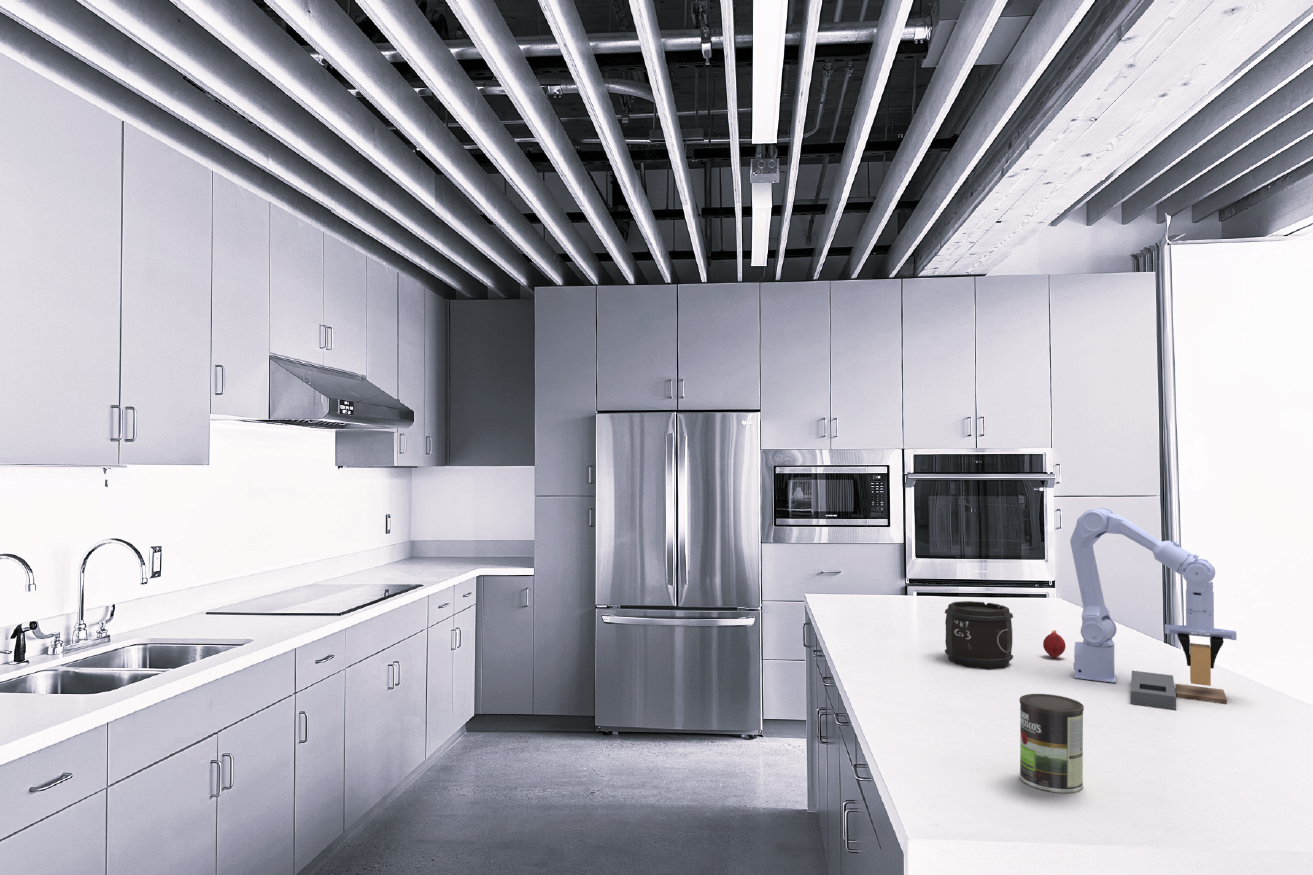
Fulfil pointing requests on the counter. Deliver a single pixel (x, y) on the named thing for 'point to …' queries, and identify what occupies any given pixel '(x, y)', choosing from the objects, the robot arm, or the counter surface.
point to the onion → (1054, 644)
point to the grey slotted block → (1153, 690)
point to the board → (1200, 693)
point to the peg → (1200, 664)
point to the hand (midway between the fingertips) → (1200, 666)
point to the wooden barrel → (978, 634)
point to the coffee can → (1051, 743)
